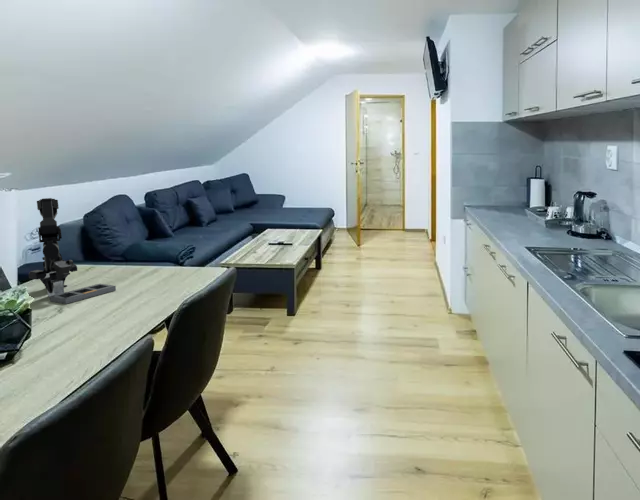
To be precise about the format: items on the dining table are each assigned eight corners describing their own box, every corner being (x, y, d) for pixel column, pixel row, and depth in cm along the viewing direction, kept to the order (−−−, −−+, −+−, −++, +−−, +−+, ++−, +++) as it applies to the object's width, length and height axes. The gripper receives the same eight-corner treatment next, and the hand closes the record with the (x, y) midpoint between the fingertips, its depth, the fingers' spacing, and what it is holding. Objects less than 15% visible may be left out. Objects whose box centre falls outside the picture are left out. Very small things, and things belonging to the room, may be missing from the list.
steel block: (47, 296, 241) (46, 281, 240) (57, 293, 245) (56, 279, 244) (54, 297, 239) (53, 282, 238) (64, 294, 243) (63, 280, 242)
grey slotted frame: (50, 301, 233) (49, 296, 233) (100, 288, 253) (99, 283, 253) (66, 304, 228) (65, 298, 228) (115, 290, 248) (115, 285, 248)
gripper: (43, 260, 227) (47, 299, 230) (84, 252, 243) (87, 288, 246) (25, 257, 233) (30, 296, 236) (67, 250, 249) (70, 286, 251)
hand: (55, 291), depth 242 cm, fingers closed on steel block, 4 cm apart
